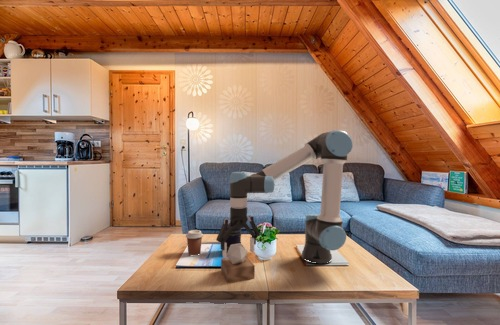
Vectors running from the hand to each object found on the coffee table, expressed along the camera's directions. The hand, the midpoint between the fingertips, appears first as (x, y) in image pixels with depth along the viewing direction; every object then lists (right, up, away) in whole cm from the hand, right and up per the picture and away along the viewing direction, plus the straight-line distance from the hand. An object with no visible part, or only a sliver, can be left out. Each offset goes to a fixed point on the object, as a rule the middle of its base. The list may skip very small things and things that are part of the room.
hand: (238, 254), depth 119 cm
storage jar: (-5, -8, +27) cm, 29 cm away
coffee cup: (-25, -8, +24) cm, 36 cm away
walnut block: (-1, -9, 0) cm, 9 cm away
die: (-1, -3, 0) cm, 4 cm away
